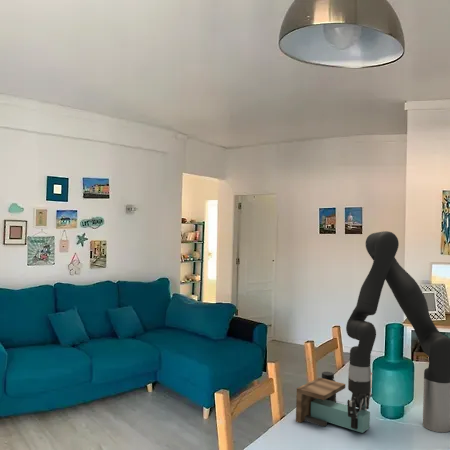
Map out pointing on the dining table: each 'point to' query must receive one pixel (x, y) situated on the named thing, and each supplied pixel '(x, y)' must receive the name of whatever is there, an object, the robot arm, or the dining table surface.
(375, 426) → the dining table surface
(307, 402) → the wall shelf
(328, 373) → the supplement bottle
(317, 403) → the pale green long block
